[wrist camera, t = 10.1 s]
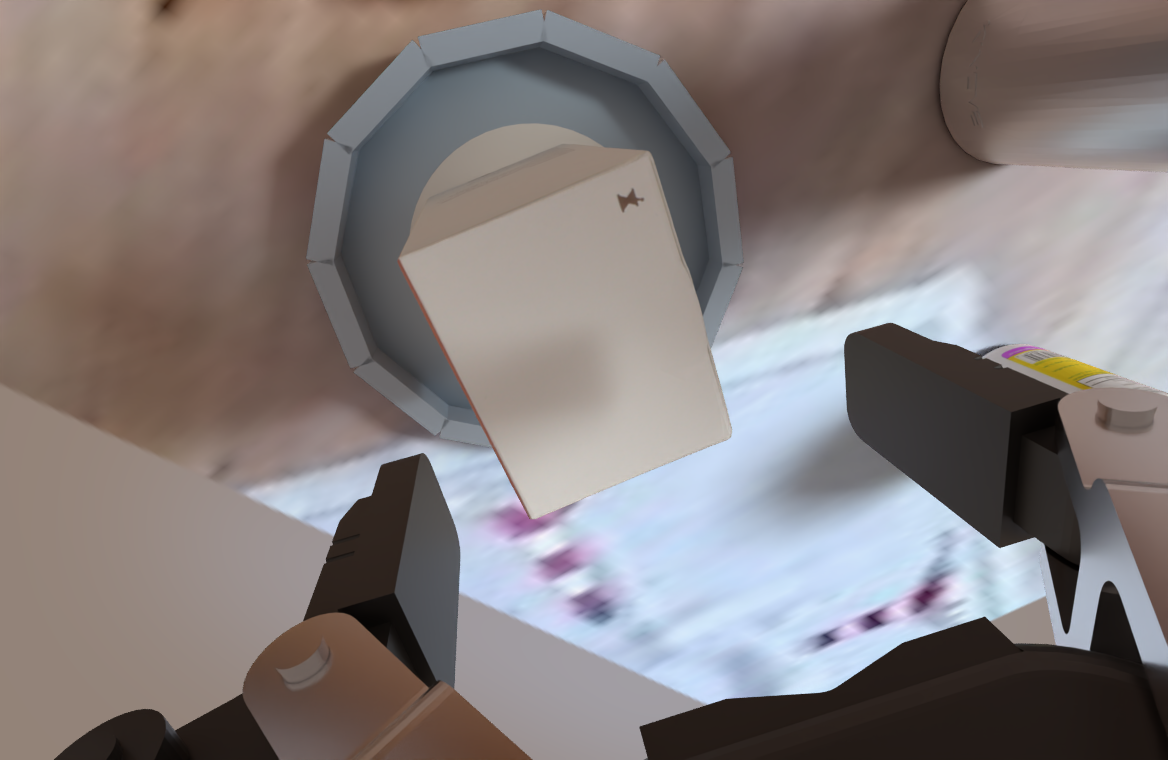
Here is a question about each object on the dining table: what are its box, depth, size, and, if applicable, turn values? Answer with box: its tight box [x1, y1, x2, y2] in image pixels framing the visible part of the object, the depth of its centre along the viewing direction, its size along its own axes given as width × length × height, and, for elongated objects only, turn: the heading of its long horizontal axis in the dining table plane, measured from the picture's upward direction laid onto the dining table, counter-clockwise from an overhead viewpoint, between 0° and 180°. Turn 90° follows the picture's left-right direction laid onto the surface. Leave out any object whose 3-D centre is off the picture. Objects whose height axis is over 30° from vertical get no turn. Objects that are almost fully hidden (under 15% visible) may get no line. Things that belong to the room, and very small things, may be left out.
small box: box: [397, 144, 732, 519], centre depth 20 cm, size 8×6×13 cm
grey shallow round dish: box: [306, 10, 744, 448], centre depth 26 cm, size 18×18×2 cm
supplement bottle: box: [982, 344, 1168, 396], centre depth 30 cm, size 7×7×13 cm
